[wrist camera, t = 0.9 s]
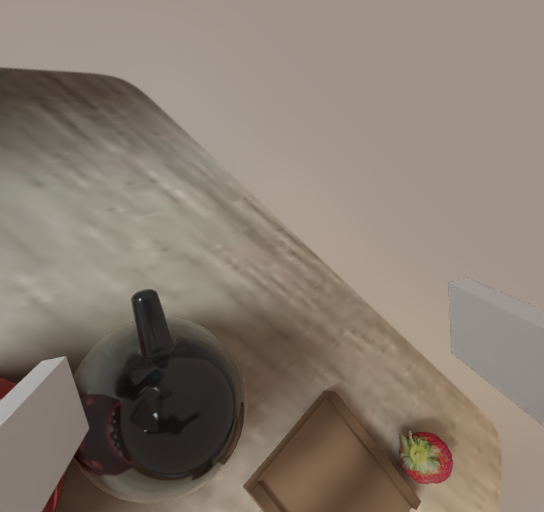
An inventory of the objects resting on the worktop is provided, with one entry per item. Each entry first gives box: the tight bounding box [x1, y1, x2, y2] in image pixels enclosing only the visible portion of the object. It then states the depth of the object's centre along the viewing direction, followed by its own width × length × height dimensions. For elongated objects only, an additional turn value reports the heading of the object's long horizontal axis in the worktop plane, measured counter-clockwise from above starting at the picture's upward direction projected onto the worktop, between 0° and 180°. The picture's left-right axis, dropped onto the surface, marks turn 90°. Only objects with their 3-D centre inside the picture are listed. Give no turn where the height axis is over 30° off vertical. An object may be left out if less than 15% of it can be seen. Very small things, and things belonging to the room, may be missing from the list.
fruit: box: [399, 430, 453, 484], centre depth 31 cm, size 4×6×5 cm
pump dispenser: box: [73, 289, 247, 504], centre depth 20 cm, size 10×10×15 cm
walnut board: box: [243, 391, 421, 512], centre depth 29 cm, size 12×10×2 cm
